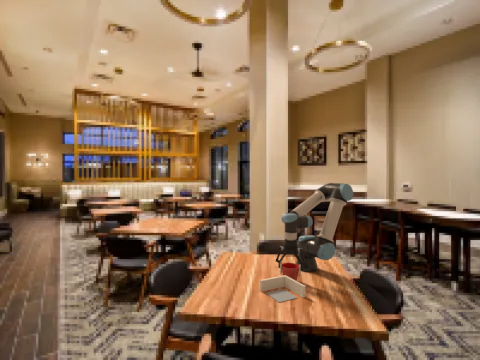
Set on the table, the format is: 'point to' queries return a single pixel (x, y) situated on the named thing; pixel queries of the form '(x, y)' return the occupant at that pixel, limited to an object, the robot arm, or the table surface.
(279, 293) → the pad
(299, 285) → the corner wall
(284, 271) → the flower pot
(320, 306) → the table surface
